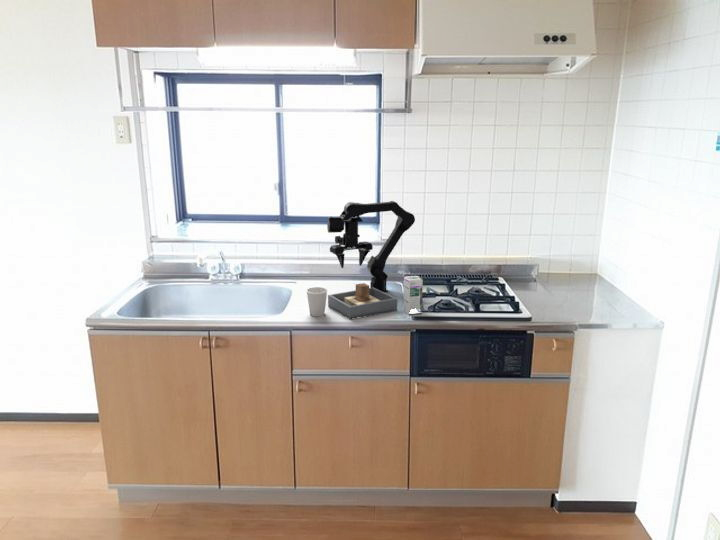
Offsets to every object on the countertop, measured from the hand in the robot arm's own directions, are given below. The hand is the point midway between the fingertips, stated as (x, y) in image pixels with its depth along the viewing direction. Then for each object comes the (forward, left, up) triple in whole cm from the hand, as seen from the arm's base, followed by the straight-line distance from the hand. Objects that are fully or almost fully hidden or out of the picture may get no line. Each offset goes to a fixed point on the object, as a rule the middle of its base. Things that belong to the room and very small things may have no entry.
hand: (351, 266), depth 237 cm
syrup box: (-8, +35, -12) cm, 38 cm away
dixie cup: (+26, +18, -12) cm, 34 cm away
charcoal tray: (+7, +21, -12) cm, 25 cm away
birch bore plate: (+7, +21, -12) cm, 25 cm away
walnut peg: (+7, +21, -11) cm, 25 cm away
